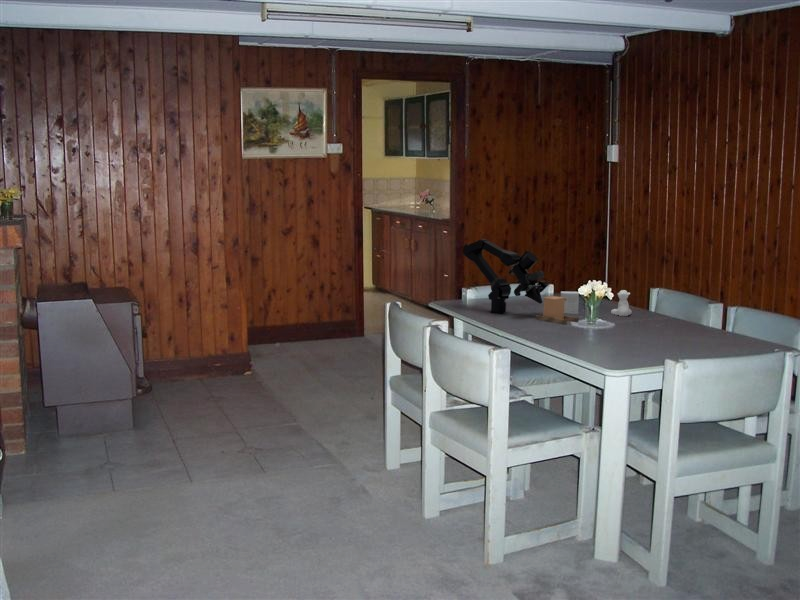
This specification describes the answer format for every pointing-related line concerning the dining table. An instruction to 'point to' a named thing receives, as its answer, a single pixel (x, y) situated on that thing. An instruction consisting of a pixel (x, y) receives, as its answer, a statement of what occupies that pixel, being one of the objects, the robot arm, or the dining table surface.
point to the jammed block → (554, 307)
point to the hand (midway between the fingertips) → (541, 303)
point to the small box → (570, 302)
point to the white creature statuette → (622, 304)
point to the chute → (555, 320)
